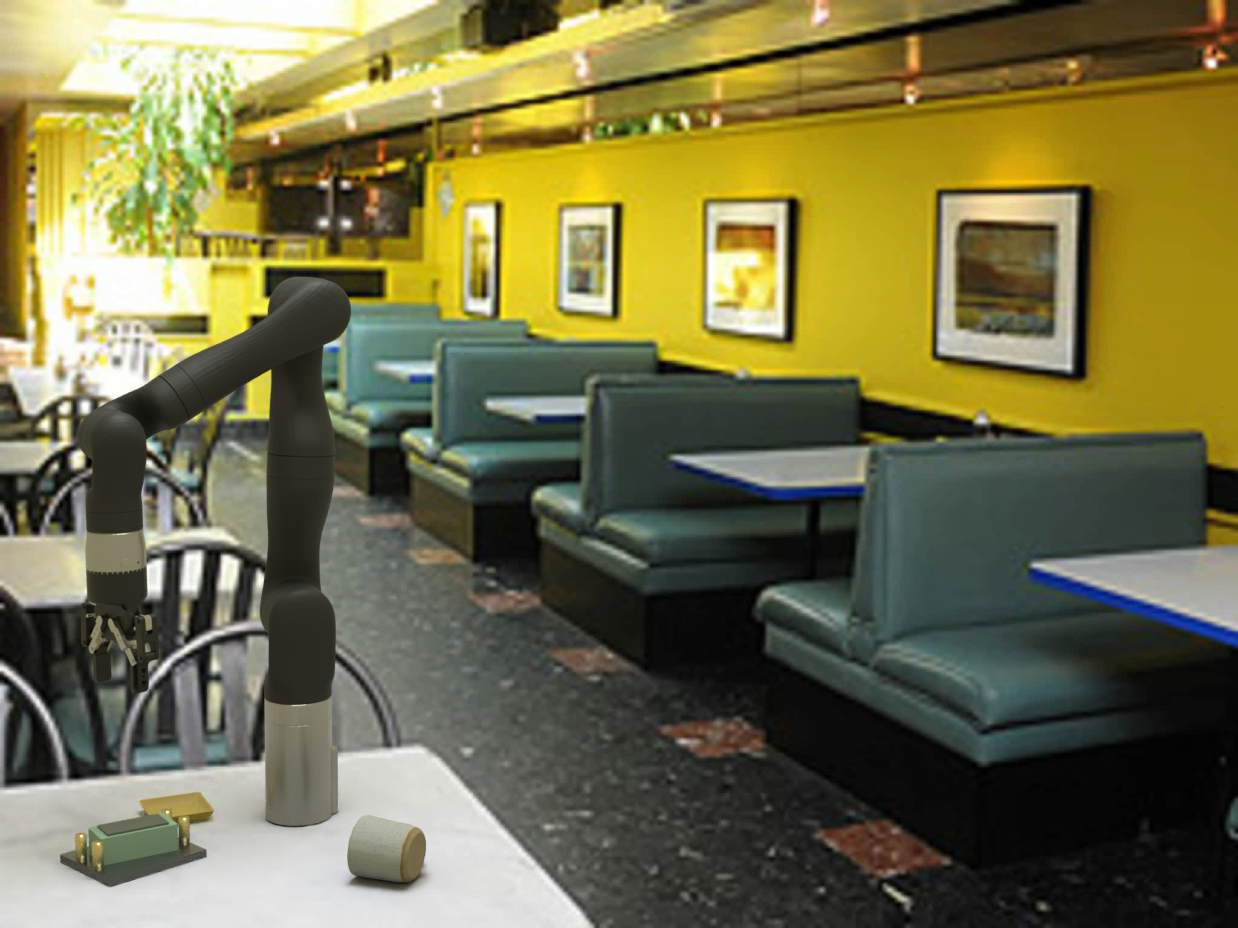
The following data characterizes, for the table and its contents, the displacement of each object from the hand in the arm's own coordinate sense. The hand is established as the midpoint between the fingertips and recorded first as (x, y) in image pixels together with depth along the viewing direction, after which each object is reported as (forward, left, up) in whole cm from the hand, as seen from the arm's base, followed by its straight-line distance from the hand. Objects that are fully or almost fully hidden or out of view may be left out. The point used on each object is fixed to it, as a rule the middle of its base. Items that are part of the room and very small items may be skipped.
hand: (120, 686), depth 210 cm
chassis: (+1, +4, -22) cm, 22 cm away
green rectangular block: (+1, +4, -21) cm, 21 cm away
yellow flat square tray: (-12, -6, -23) cm, 26 cm away
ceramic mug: (-19, +32, -22) cm, 43 cm away
